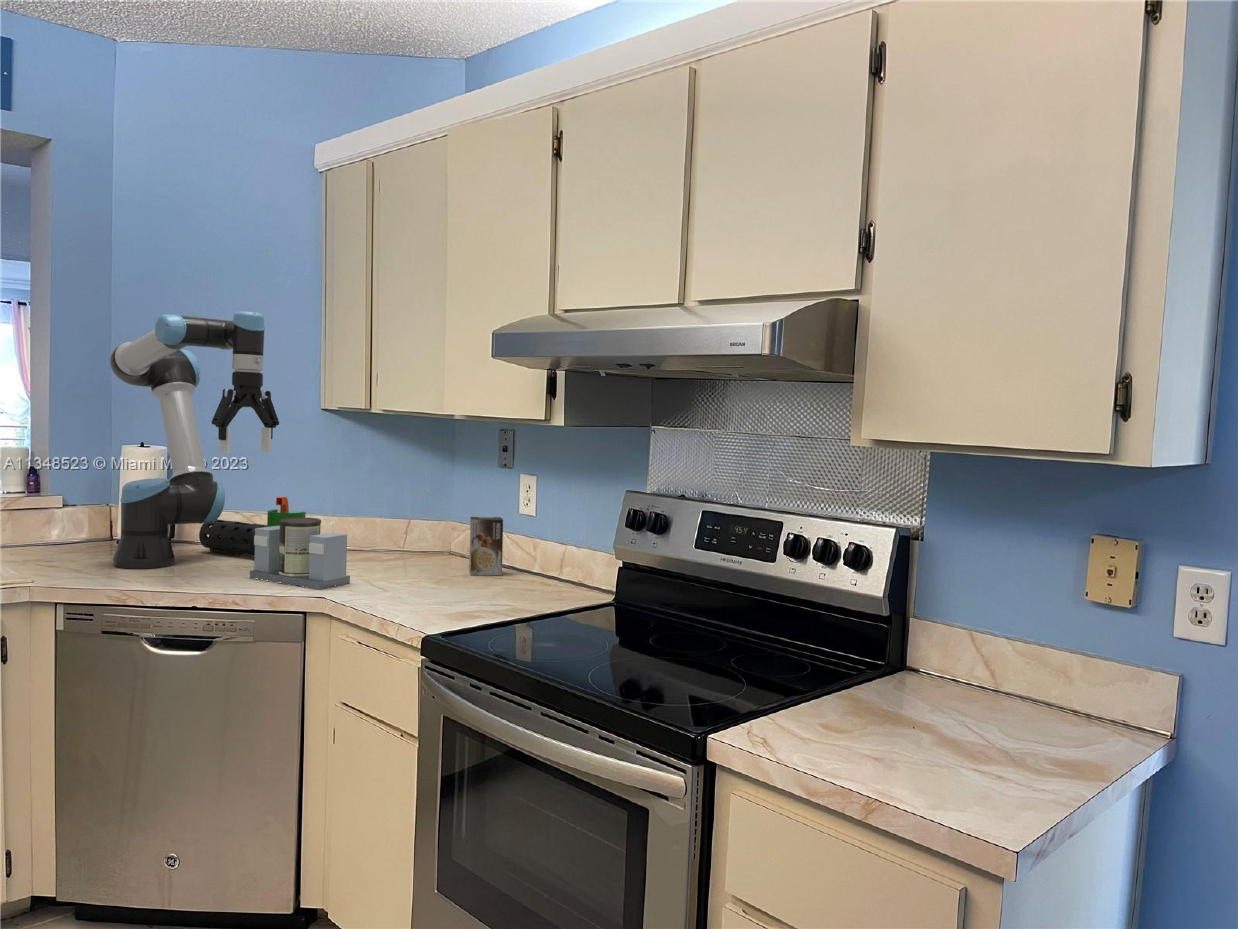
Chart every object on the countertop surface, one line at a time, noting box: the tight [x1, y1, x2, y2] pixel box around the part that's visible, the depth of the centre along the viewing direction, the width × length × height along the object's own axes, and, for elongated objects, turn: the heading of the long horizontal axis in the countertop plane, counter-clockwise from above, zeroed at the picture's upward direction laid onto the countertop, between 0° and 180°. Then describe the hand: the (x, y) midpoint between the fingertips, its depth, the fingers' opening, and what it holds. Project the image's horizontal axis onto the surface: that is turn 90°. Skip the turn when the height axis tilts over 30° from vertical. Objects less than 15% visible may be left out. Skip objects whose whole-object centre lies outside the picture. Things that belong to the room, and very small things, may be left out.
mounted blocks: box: [253, 526, 348, 581], centre depth 244 cm, size 24×8×11 cm, turn 64°
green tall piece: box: [266, 496, 306, 527], centre depth 263 cm, size 10×9×20 cm
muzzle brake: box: [198, 518, 267, 556], centre depth 277 cm, size 10×28×10 cm, turn 68°
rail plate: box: [249, 569, 351, 590], centre depth 244 cm, size 24×11×2 cm, turn 64°
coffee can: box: [279, 517, 322, 577], centre depth 244 cm, size 10×10×14 cm
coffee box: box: [468, 516, 504, 576], centre depth 267 cm, size 9×6×16 cm
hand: (245, 452), depth 246 cm, fingers open, 13 cm apart
